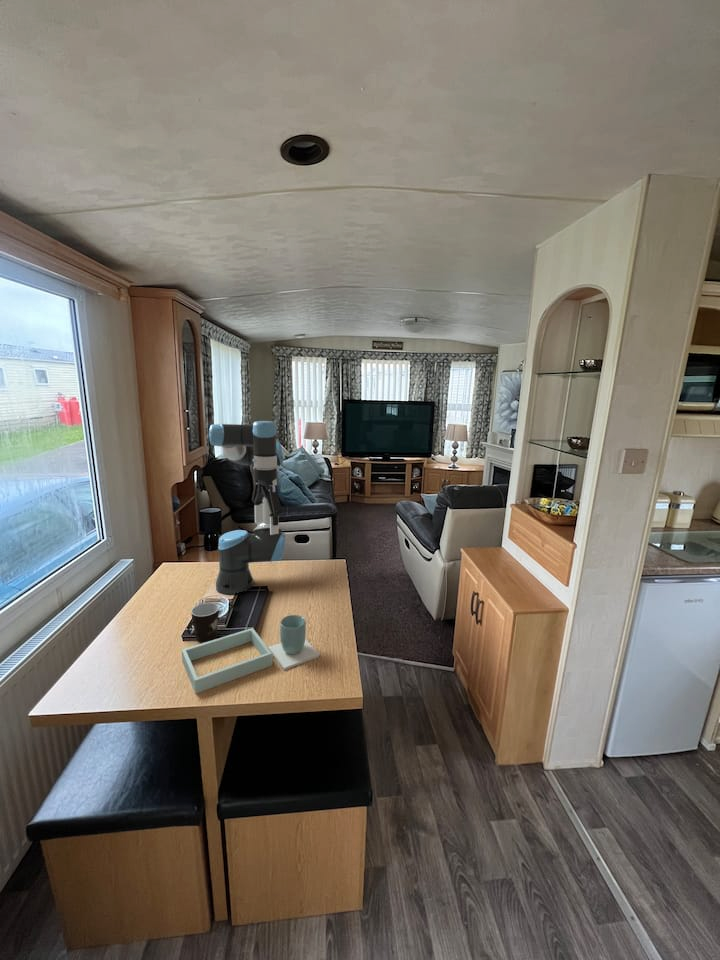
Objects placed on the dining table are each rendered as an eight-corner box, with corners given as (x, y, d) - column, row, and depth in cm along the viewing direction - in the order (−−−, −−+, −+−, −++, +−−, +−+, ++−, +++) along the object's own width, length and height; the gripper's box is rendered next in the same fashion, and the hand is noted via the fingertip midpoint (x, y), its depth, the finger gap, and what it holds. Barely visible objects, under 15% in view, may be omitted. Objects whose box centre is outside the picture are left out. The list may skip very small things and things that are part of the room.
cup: (276, 655, 125) (276, 626, 123) (285, 641, 133) (285, 613, 131) (300, 659, 124) (300, 629, 122) (308, 644, 131) (308, 616, 129)
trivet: (268, 649, 130) (268, 647, 129) (302, 637, 136) (302, 635, 136) (284, 670, 120) (284, 667, 120) (319, 656, 127) (319, 654, 127)
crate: (182, 661, 122) (181, 649, 122) (253, 638, 135) (252, 627, 134) (195, 693, 110) (194, 680, 109) (272, 665, 122) (272, 653, 121)
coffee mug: (213, 626, 141) (212, 600, 139) (224, 637, 135) (223, 609, 133) (179, 639, 133) (177, 611, 131) (189, 651, 127) (188, 622, 125)
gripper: (241, 462, 144) (243, 519, 148) (269, 475, 124) (270, 541, 129) (261, 461, 148) (262, 516, 153) (292, 473, 128) (292, 537, 133)
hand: (266, 528), depth 141 cm, fingers open, 13 cm apart
